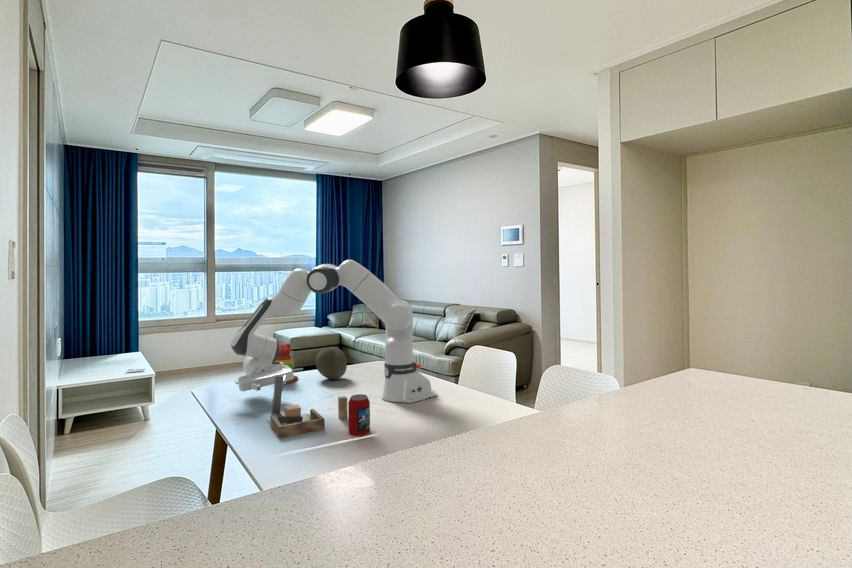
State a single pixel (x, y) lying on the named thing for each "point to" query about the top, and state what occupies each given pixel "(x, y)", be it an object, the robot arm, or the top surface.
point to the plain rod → (342, 407)
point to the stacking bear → (286, 358)
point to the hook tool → (277, 404)
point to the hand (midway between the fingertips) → (271, 385)
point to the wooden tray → (298, 425)
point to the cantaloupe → (331, 363)
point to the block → (293, 410)
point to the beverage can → (359, 415)
